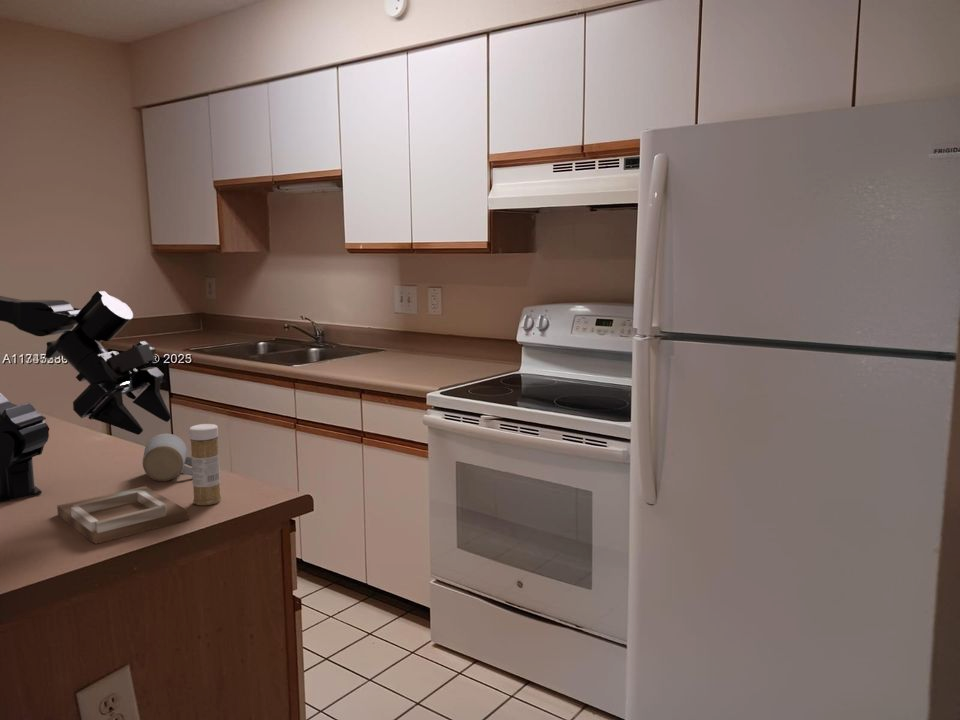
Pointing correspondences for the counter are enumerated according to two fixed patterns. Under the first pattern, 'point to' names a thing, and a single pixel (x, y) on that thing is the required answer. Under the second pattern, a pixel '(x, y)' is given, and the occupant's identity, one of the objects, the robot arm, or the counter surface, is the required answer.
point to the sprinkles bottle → (205, 464)
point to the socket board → (121, 514)
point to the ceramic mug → (166, 457)
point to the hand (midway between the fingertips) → (155, 426)
